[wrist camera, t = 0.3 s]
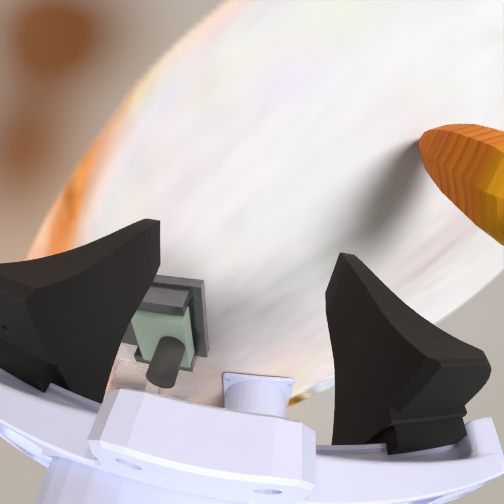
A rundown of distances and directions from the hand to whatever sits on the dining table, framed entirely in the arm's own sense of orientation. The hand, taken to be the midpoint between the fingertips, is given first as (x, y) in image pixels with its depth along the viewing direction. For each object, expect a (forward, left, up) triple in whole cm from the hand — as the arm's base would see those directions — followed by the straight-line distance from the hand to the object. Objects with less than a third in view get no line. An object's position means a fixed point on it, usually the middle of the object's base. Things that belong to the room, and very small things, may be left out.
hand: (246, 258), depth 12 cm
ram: (-13, +8, -8) cm, 18 cm away
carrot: (+5, -11, -10) cm, 16 cm away
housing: (-25, +14, -10) cm, 31 cm away
